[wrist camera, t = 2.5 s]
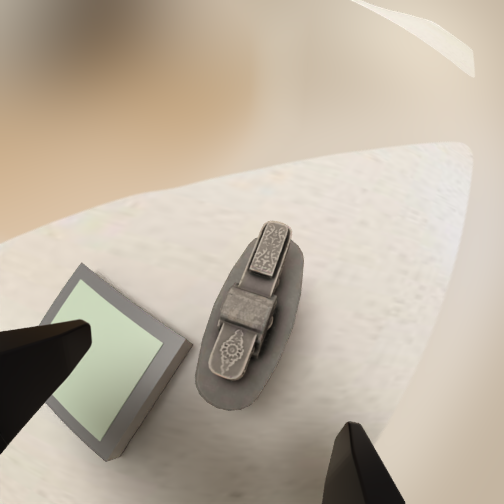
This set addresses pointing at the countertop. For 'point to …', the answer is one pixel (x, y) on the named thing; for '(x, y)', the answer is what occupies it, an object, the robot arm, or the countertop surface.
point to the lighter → (251, 320)
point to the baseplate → (112, 364)
